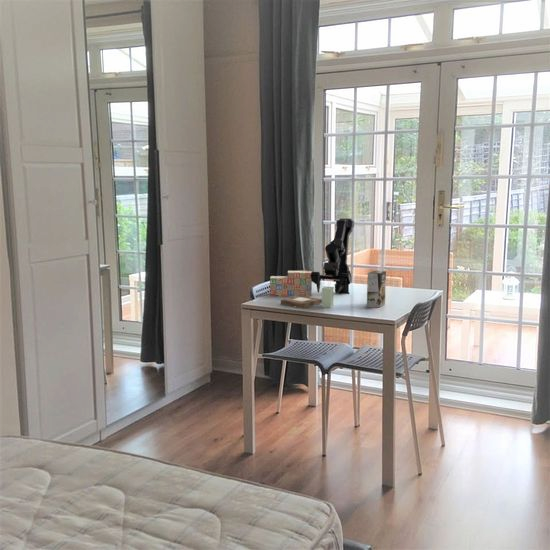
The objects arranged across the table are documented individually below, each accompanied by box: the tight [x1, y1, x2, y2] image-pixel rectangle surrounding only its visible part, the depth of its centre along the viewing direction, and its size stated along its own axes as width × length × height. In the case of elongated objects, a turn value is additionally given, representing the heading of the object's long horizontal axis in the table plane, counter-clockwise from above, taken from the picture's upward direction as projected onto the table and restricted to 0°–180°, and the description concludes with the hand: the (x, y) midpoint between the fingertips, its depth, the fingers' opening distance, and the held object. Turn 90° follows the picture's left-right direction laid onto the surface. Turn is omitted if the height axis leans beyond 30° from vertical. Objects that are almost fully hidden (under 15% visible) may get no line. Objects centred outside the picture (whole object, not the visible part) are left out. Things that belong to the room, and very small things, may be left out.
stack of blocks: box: [269, 270, 313, 297], centre depth 315 cm, size 21×6×12 cm, turn 86°
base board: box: [280, 296, 322, 309], centre depth 294 cm, size 14×14×2 cm
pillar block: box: [321, 286, 335, 308], centre depth 287 cm, size 4×4×9 cm
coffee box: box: [366, 270, 387, 309], centre depth 288 cm, size 9×6×16 cm
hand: (327, 292), depth 286 cm, fingers open, 9 cm apart
